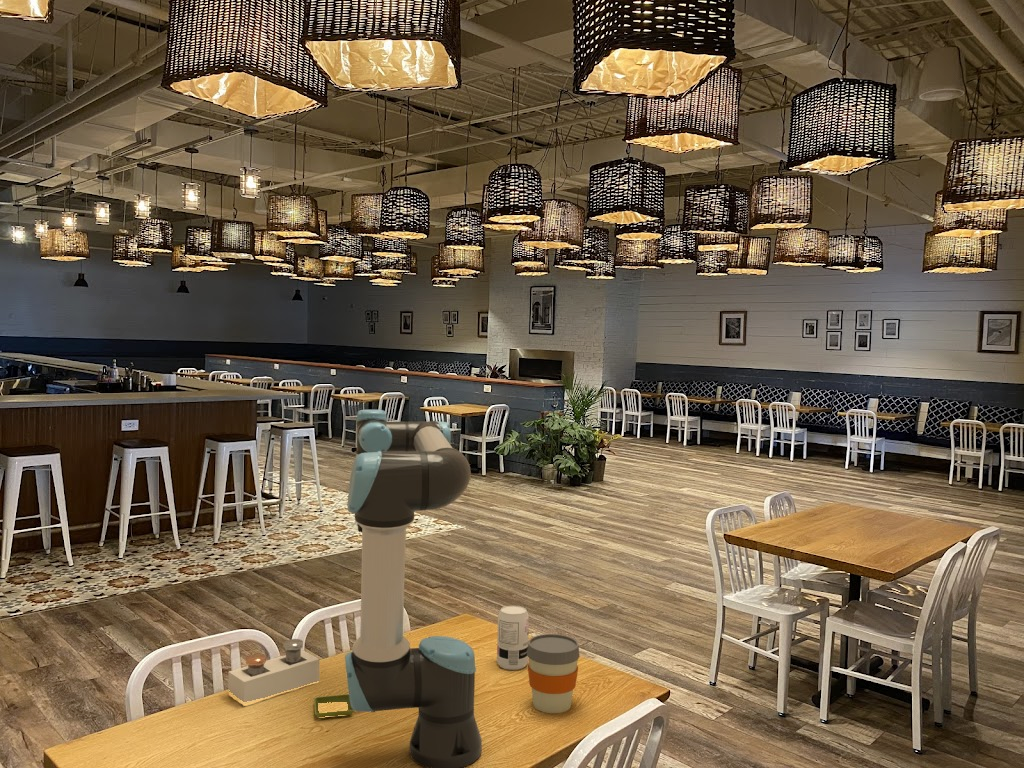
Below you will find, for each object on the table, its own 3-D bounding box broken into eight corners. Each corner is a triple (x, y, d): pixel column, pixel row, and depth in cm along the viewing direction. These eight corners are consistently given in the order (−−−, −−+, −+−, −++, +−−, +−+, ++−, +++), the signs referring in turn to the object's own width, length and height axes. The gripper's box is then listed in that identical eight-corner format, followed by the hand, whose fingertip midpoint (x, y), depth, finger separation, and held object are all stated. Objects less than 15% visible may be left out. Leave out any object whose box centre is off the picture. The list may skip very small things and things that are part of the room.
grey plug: (289, 680, 196) (289, 647, 196) (280, 674, 199) (280, 642, 199) (306, 674, 199) (306, 642, 199) (296, 669, 203) (296, 637, 202)
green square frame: (354, 718, 182) (354, 709, 182) (314, 723, 180) (315, 713, 180) (351, 702, 191) (351, 693, 191) (313, 705, 188) (314, 697, 188)
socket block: (244, 707, 186) (244, 682, 186) (228, 696, 192) (228, 671, 191) (319, 682, 200) (319, 659, 200) (302, 672, 206) (302, 650, 206)
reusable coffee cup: (541, 688, 199) (542, 629, 199) (587, 701, 193) (588, 640, 192) (516, 708, 189) (517, 645, 188) (563, 721, 182) (564, 657, 181)
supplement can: (492, 661, 216) (493, 607, 215) (519, 657, 219) (520, 603, 218) (504, 673, 208) (505, 616, 208) (532, 668, 212) (534, 612, 211)
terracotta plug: (251, 697, 189) (251, 663, 189) (242, 690, 192) (242, 657, 192) (269, 691, 192) (269, 657, 192) (260, 685, 196) (260, 652, 195)
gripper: (398, 471, 202) (397, 563, 203) (368, 465, 211) (367, 553, 212) (374, 474, 197) (373, 569, 198) (344, 468, 206) (343, 558, 207)
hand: (370, 561), depth 205 cm, fingers closed
